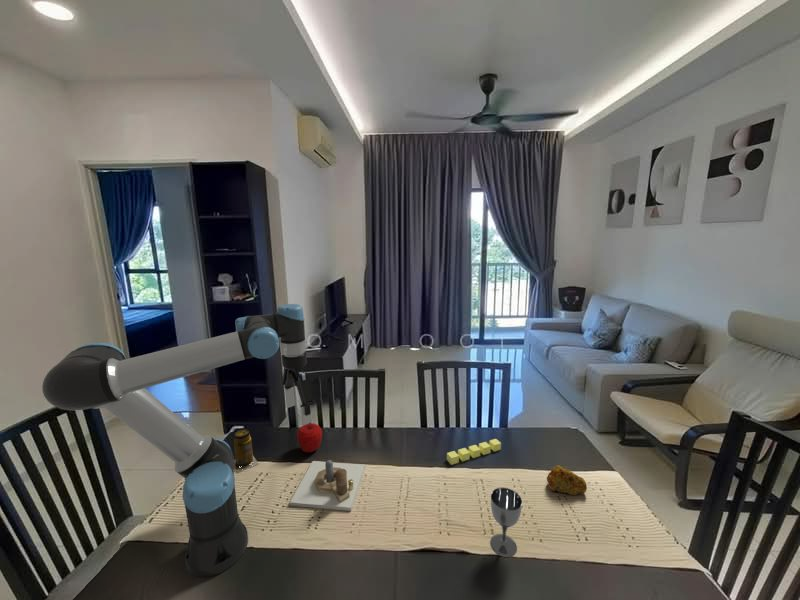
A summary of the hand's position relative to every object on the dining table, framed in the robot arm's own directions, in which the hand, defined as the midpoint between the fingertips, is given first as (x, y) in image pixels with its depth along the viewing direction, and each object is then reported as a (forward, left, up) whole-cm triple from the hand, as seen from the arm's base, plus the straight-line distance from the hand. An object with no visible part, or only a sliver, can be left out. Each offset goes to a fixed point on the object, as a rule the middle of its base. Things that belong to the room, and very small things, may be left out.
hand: (298, 414), depth 112 cm
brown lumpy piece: (+8, -88, -27) cm, 93 cm away
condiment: (+9, +27, -27) cm, 39 cm away
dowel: (-1, -17, -27) cm, 32 cm away
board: (+1, -9, -27) cm, 28 cm away
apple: (+19, +5, -27) cm, 33 cm away
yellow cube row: (+24, -58, -27) cm, 68 cm away
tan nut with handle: (-1, -11, -25) cm, 28 cm away
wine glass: (-16, -64, -27) cm, 71 cm away
